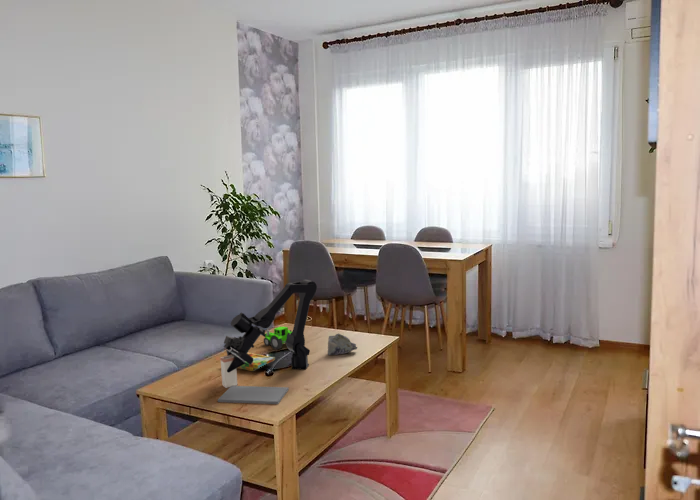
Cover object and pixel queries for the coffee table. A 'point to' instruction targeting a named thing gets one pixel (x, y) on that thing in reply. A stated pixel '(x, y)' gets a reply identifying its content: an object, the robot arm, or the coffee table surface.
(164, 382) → the coffee table surface
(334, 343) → the mineral rock
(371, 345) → the coffee table surface
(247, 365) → the puzzle game
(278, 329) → the toy tractor
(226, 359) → the card box
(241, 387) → the mat
